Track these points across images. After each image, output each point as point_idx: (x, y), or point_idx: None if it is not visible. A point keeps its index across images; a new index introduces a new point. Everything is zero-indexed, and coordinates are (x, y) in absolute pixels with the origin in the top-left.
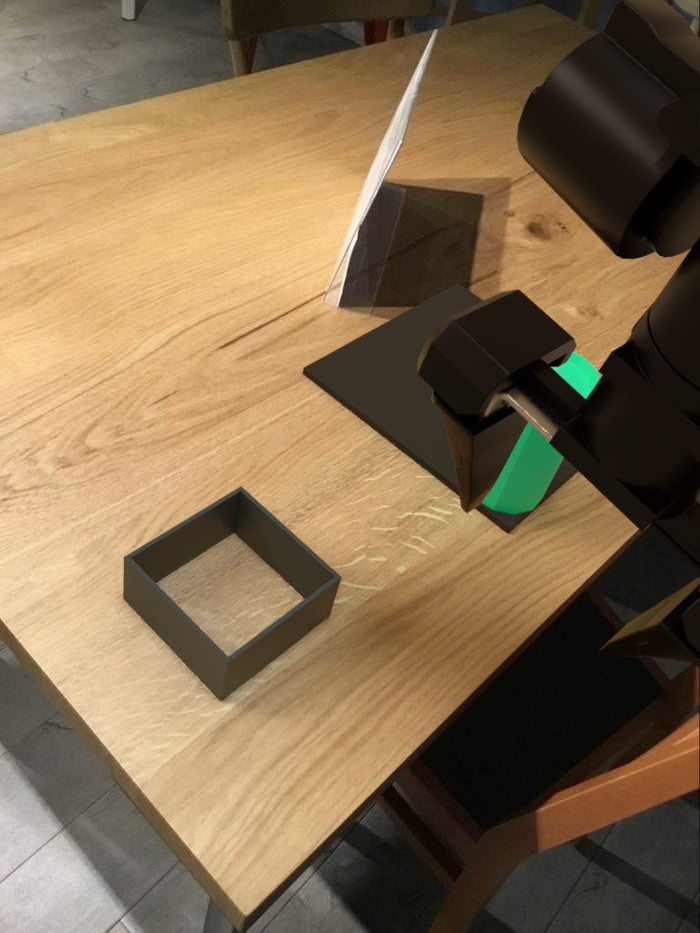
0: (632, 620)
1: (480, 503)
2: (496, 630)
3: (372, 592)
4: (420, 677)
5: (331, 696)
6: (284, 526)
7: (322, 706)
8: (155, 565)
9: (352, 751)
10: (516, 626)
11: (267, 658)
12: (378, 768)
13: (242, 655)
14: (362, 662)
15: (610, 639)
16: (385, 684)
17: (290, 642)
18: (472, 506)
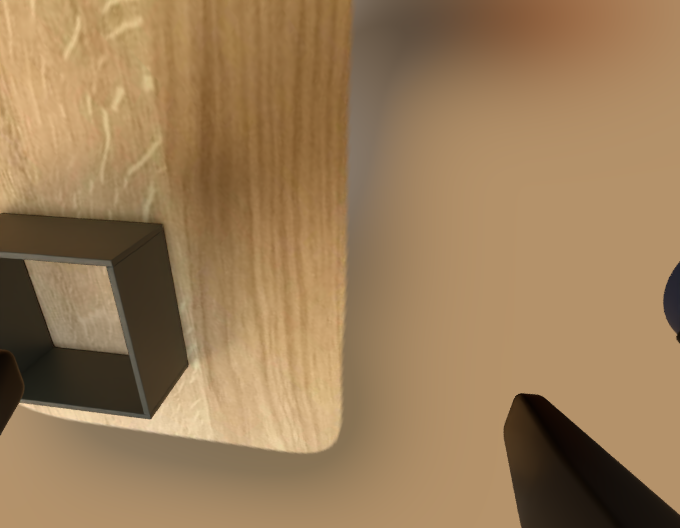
0: (566, 480)
1: (4, 359)
2: (313, 52)
3: (160, 153)
4: (291, 208)
5: (245, 297)
6: (5, 253)
7: (248, 310)
8: (19, 342)
9: (304, 326)
10: (330, 14)
11: (171, 326)
12: (335, 323)
13: (150, 397)
14: (233, 243)
15: (523, 502)
16: (271, 246)
17: (168, 292)
18: (2, 408)
